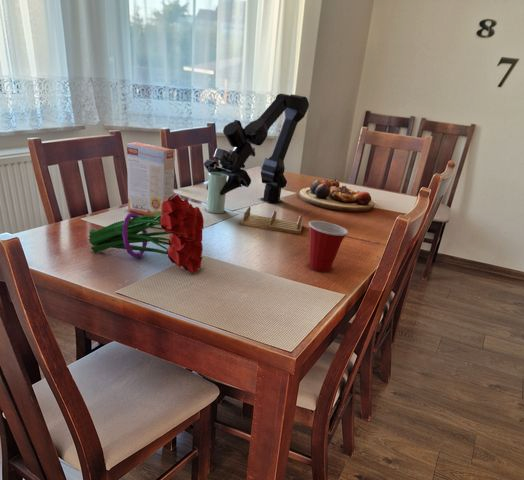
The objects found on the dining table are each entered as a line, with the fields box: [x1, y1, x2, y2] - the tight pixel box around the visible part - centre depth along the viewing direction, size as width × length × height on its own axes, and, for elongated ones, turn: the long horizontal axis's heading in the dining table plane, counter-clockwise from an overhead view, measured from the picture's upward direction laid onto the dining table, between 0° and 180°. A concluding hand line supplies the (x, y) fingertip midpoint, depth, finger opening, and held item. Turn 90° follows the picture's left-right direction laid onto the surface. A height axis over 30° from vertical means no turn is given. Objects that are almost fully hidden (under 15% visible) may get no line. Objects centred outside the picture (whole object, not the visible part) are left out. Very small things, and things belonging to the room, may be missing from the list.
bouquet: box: [88, 194, 205, 275], centre depth 120 cm, size 20×16×30 cm
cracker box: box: [126, 141, 176, 216], centre depth 151 cm, size 14×6×21 cm, turn 65°
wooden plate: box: [298, 178, 375, 213], centre depth 201 cm, size 32×32×8 cm
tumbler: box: [206, 172, 228, 214], centre depth 166 cm, size 6×6×12 cm
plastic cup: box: [308, 220, 349, 273], centre depth 131 cm, size 11×11×12 cm
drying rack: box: [240, 206, 304, 235], centre depth 162 cm, size 10×20×4 cm, turn 82°
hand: (213, 192), depth 165 cm, fingers closed on tumbler, 6 cm apart
